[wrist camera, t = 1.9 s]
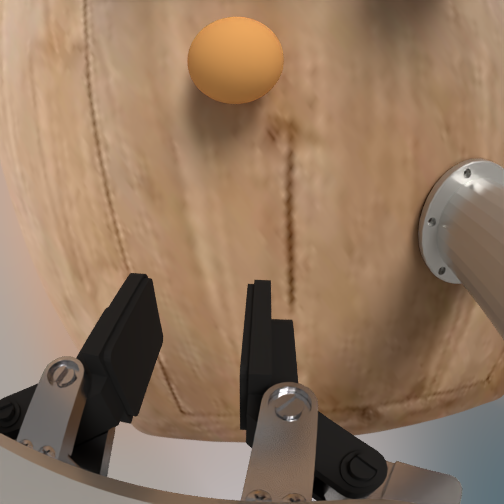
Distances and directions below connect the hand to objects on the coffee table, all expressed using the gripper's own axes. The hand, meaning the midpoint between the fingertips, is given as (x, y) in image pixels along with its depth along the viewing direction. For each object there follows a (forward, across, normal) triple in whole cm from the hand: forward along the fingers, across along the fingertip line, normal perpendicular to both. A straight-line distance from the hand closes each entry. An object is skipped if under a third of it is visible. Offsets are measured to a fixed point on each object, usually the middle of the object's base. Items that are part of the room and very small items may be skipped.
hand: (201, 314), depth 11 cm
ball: (+12, 0, -10) cm, 15 cm away
